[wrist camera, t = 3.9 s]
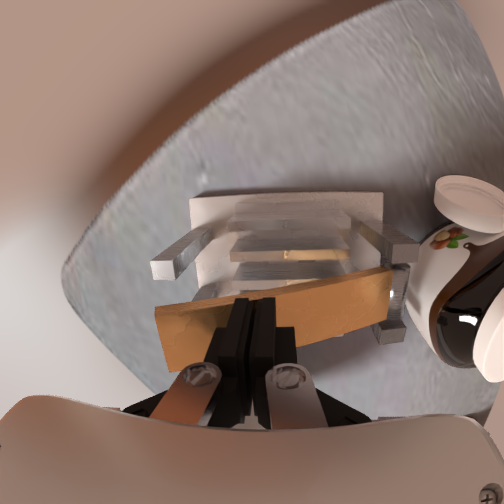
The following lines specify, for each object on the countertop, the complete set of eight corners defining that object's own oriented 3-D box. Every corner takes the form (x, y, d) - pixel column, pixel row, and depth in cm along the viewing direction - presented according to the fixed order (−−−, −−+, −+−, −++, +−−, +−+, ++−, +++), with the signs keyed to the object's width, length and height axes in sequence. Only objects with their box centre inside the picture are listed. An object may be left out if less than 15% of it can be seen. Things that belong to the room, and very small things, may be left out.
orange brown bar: (397, 259, 15) (416, 267, 13) (391, 305, 16) (408, 315, 14) (155, 302, 12) (154, 320, 10) (168, 357, 12) (169, 378, 11)
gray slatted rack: (378, 191, 19) (434, 208, 11) (370, 311, 22) (404, 376, 14) (193, 197, 21) (140, 217, 13) (207, 315, 23) (174, 381, 15)
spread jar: (409, 328, 22) (464, 417, 11) (359, 224, 20) (435, 285, 9) (498, 260, 19) (574, 310, 8) (465, 153, 17) (566, 159, 6)
